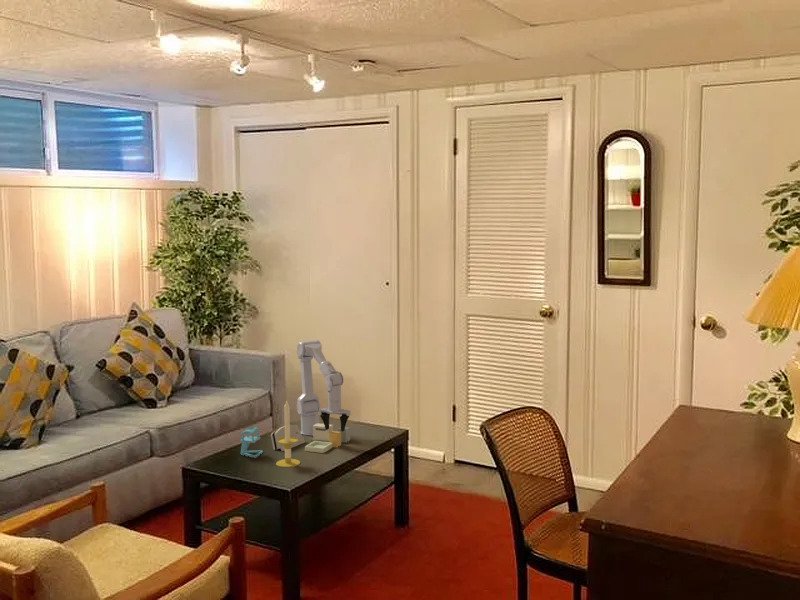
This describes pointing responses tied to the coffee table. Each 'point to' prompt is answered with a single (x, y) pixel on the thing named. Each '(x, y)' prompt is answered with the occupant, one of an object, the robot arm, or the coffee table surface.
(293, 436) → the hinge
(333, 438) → the ochre block
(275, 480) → the coffee table surface
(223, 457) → the coffee table surface
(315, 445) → the sage tray
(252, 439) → the chair
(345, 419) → the robot arm
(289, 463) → the candle
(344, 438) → the slate block
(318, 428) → the cream unit
